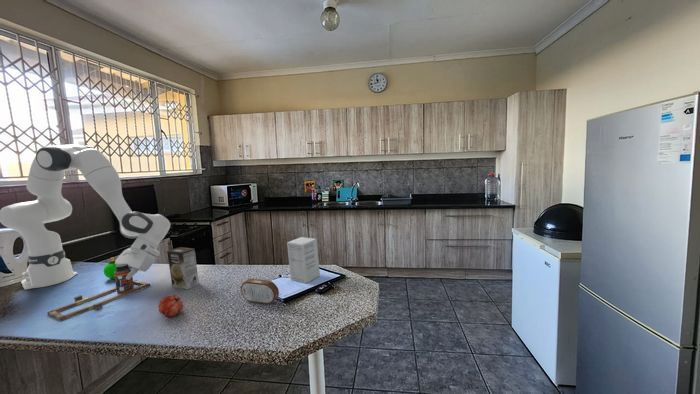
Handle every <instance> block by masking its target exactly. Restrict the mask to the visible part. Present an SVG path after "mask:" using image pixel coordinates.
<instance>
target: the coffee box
mask: <svg viewBox="0 0 700 394" xmlns="http://www.w3.org/2000/svg"><path fill="white" fill-rule="evenodd" d="M166 253H167V259H168V266H169V273H170V279H171V286H172V288H175V289H183V290H190V289H191V288H193V287H196V286H197V285H199V284H200V283H199V282H200V281H199V275H198V266H197V265H198V264H197V259H196V258H197V257H196V251H195V248H193V247H191V248H190V247H183V246H180V247H176V248H173V249H170V250H167V252H166Z"/></svg>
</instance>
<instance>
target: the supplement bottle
mask: <svg viewBox="0 0 700 394" xmlns="http://www.w3.org/2000/svg"><path fill="white" fill-rule="evenodd" d="M116 269H117V270H116V271H115V272H114V277H115V279H114V282H115V287H116V290H117V291H116V292H117V294H121V293H123V292H126V291H129V290H131V289H134V288H135V284H133V281H134V279H133V277H134V276H132V277H131V279H130V280H128V279H125V278H124V277H125V276H126V274H128V273H129V272H130V271H131V269H130V268H128V264H120V265H117V266H116Z"/></svg>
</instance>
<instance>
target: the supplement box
mask: <svg viewBox="0 0 700 394" xmlns="http://www.w3.org/2000/svg"><path fill="white" fill-rule="evenodd" d="M286 245H287V256H288V265H289V275H290V276H289V277H290V281H294V282H300V283H304V284H308V283H309V282H311V281H313V280H314V279H317V278H318V277H320V276H321V273H320V261H319V250H318V240H317V238H311V237H303V236H300V237H297V238H296V239H292V240H290V241H287V242H286Z"/></svg>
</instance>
